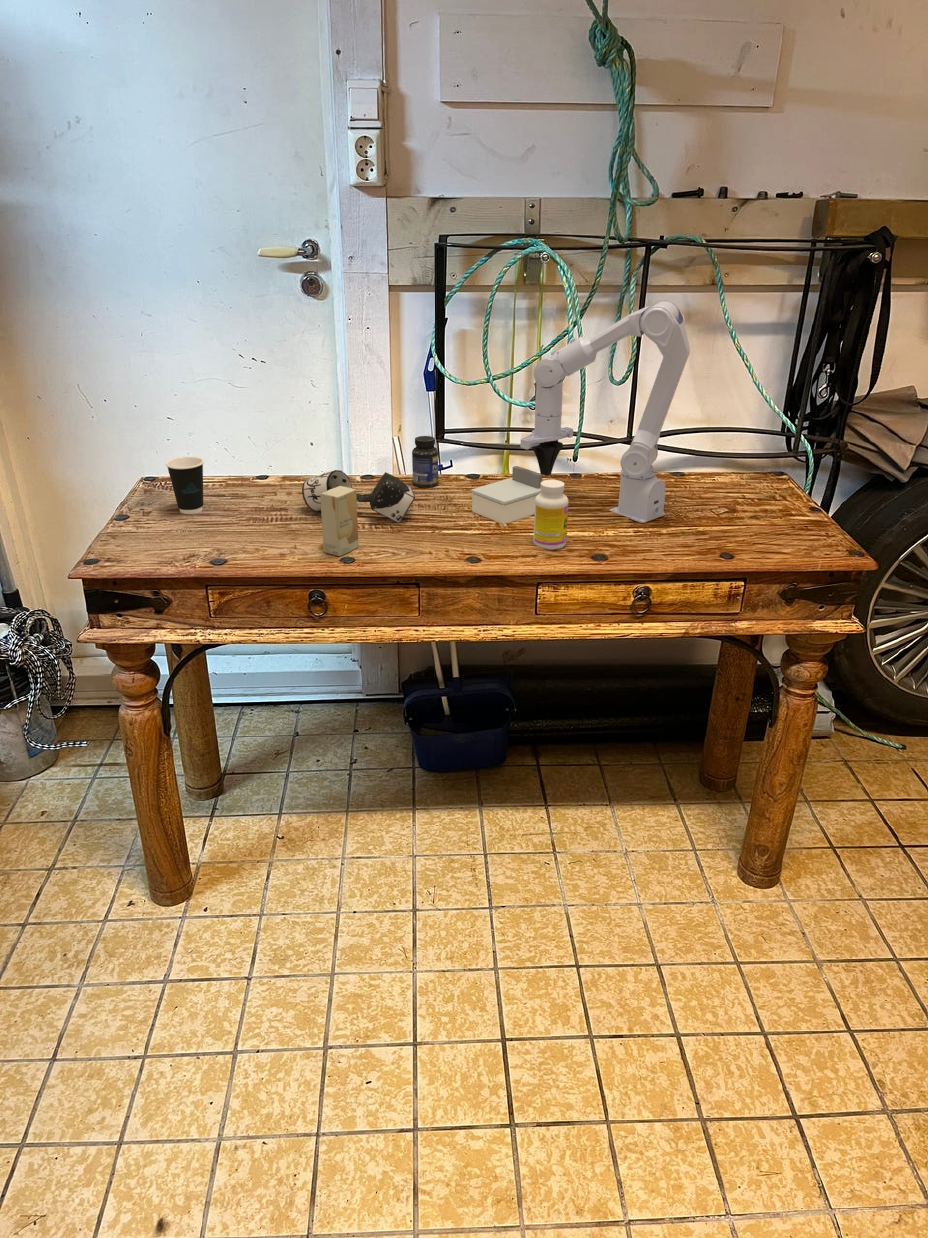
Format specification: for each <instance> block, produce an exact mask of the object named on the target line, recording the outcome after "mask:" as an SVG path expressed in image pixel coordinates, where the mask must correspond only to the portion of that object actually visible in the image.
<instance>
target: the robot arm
mask: <svg viewBox="0 0 928 1238" xmlns="http://www.w3.org/2000/svg"><path fill="white" fill-rule="evenodd" d="M687 333H688V332H687V327H686V319H685V315H684V314H683V312H682V311H681V309H680V308H679V306H678V305H677V304H676V303H675V302H674V301H672V300H670V299H669V300H668V299H661V300H659V301H657V302H655V303H654V304H653V305H652V306H651V305H648V306H646V307H642V308H641V309H638V310H636V311H634V312H631V313H630V314H628V315H626V316H625V317H623V318H621V319H620V320H619V321H616V322H615V323H614V324H612V325H610V326H609V327H607V328H606V329H604V330H602V331H601V332H600V333H597V334H596V335H594V336H593V337H591V338H590V337H589V338H588V337H586V336H580V337H577V336H573V338H571V339H570V340H569V343H568V344H567V345H565V346H563V347H560V348H559V349H558V350H557V349H554V350H552V351H551V352H550V355H547V356H546V357H543V358H542V359H540V361H539V362H537V363H536V365H535V366H534V368H533V379H534V381H535V383H536V391H535V407H534V429H533V430H531V433H530V434H528V435H527V436H525V437H522V438H520V445H519V446H520V447H519V448H520V449H524V450H529V449H532V451H533V452H534V455H535V457H536V461H537V464H538V468H539V473H540V474H543V476H546V477H548V476H551V475H552V472H553V469H554V466H555V462H556V460H557V458H558V455H559V454H560V453H561V450H562V449H563V447H564V444H563V442H561V441H560V440H563V439H567V438H568V439H569V438H570V439H571V438H573V436H574V428H572V427H568V426H565V427H562V411H563V382H564V381H563V380H564V378H566V377H570V376H571V375H573V374H574V373H576V372H579V371H581V370H582V369H584V368H586V367H587V366H590V365H591V364H592V363H594V362H595V361H596V358H597V355H598V352H601V351H603V350H604V349H606V348H608V347H610V346H612V345H613V344H615V343H618V342H619V341H621V340H623V339H625V338H626V337H629V336H633V337H640V338H641V337H642V336H643V335H645V336H646V337H647V338H648V339H649V340H651V341H652V342H653V343H654V344H655V345H656V346H657V348H658V350H659V352H660V354H661V355H662V360H661V363H660V366H659V368H658V371H657V374H656V377H655V380H654V382H653V385H652V388H651V390H650V393H649V397H648V399H647V402H646V405H645V407H644V410H643V413H642V416H641V419H640V421H639V425H638V428H637V430H636V432H635V435H634V436H633V439H632V441H631V444H630V446H629V448H628V449H627V450H625V452H624V453H623V454H622V456H621V458H620V468H621V470H620V483H619V484H620V485H619V493H618V494H619V495H618V506H616V507H613V508H611V509H609V511H610V512H612V513H615V514H618V515H620V516H623V517H626V518H628V519H629V520H632V521H635V522H637V523H640V524H641V523H642V524H644V523H647V522H650V521H653V520H656V519H657V518H660V517H663V516H666V512H664V511H665V510H664V509H665V500H666V490H667V489H666V484H665V482H664V481H663V480H662V479H660V478H658V477H657V475H656V470H655V468H654V466H653V464H654V462H655V461H656V460H657V459H658V455H659V454H658V453H659V450H658V449H659V448H658V443H659V440H660V438H661V437H660V436H661V432H662V429H663V426H664V424H665V421H666V417H667V416H668V413H669V409H670V407H671V404H672V401H673V399H674V396H675V393H676V392H677V388H678V387H679V383H680V379H681V377H682V375H683V372H684V369H685V367H686V364H687V361H688V359H689V356H690V352H691V347H690V343H689V338H688V334H687Z"/></svg>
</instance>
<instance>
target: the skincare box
mask: <svg viewBox="0 0 928 1238" xmlns="http://www.w3.org/2000/svg"><path fill="white" fill-rule="evenodd" d="M356 494H357V489H356V488H353V487H352V488H348V487H343V486H338V487H336V488H333V489H330V490H328V491H326V492H323V493H321V494H320V497H321V515H320V516H321V527H322V528H321V529H322V530H321V531H322V547H323V548H322V550H323V553H326V554H330V555H334V556H338V557H341V556H343V555H345V554H347V553H349V552H351V551H353V550H355V549H358V548H359V529H358V528H359V526H358V524H359V523H358V501H357V497H356ZM357 547H358V548H357Z"/></svg>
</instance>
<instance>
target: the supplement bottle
mask: <svg viewBox="0 0 928 1238" xmlns="http://www.w3.org/2000/svg"><path fill="white" fill-rule="evenodd" d="M540 489H541V493H540V494H539V495H537V497H536V498H535V513H534V517H533V519H534V521H533V536H532V537H533V545H535V546H536V547H539V548H542V549H545V550H552V551H553V550H559V549H562V548H564V547H565V546H566V545H567V537H568V535H567V534H568V519H569V517H568V516H569V498H568V497H567V495H566V494H564V491H565V482H564V481H561V480H558V479H545V480H542V482H541V486H540Z"/></svg>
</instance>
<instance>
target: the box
mask: <svg viewBox="0 0 928 1238" xmlns="http://www.w3.org/2000/svg"><path fill="white" fill-rule="evenodd" d="M537 495H539V494H537ZM537 495H534V496H531V497H528V498H524V499H521V500H518V501H515V502H512V503H508V504H505V505H504V504H501V503H498V502H496V501H493V500H490V499H488V498H485V497H482V496H480V495H477V494H474V493H472V494H471V498H472V499H471V512H472V513H475V514H477V515H479V516H482V517H485V518H486V519H488V520H492V521H495V522H497V523H499V524H502V525H506V524H509V523H513V522H515V521H519V520H521V519H524V518H527V517H530V516H533V515H534V513H535V498H536V497H537Z"/></svg>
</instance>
